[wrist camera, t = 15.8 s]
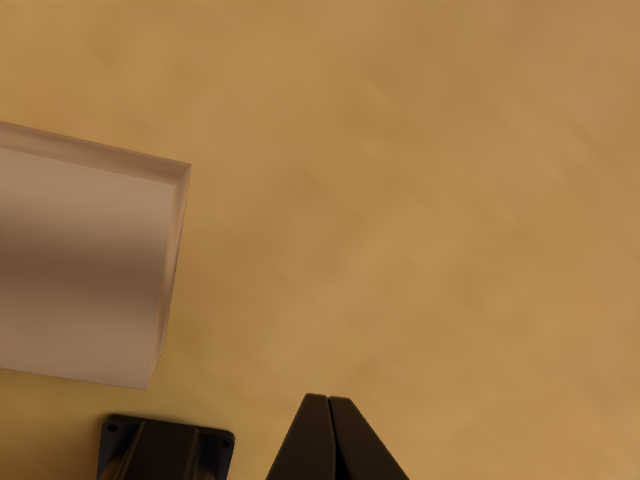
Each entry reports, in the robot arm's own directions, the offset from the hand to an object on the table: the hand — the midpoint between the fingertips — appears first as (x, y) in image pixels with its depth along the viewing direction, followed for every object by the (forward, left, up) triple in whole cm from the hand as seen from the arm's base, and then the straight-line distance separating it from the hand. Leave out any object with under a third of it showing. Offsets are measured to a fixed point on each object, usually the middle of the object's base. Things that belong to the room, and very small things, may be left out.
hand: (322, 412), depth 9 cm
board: (-4, +10, -12) cm, 16 cm away
